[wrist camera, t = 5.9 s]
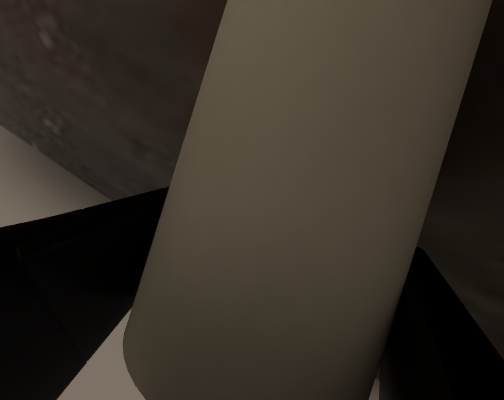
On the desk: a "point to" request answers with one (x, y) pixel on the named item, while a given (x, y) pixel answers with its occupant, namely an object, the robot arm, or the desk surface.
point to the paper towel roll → (299, 198)
